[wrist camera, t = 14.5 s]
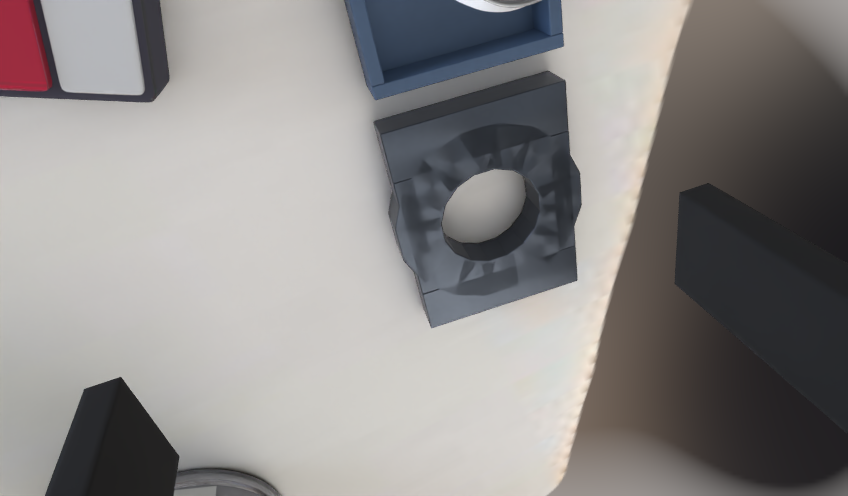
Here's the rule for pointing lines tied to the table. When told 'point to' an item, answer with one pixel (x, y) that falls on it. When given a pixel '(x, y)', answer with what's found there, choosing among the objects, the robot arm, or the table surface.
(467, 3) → the can
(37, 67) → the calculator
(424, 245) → the plate
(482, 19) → the blue tray
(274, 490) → the robot arm
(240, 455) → the table surface
